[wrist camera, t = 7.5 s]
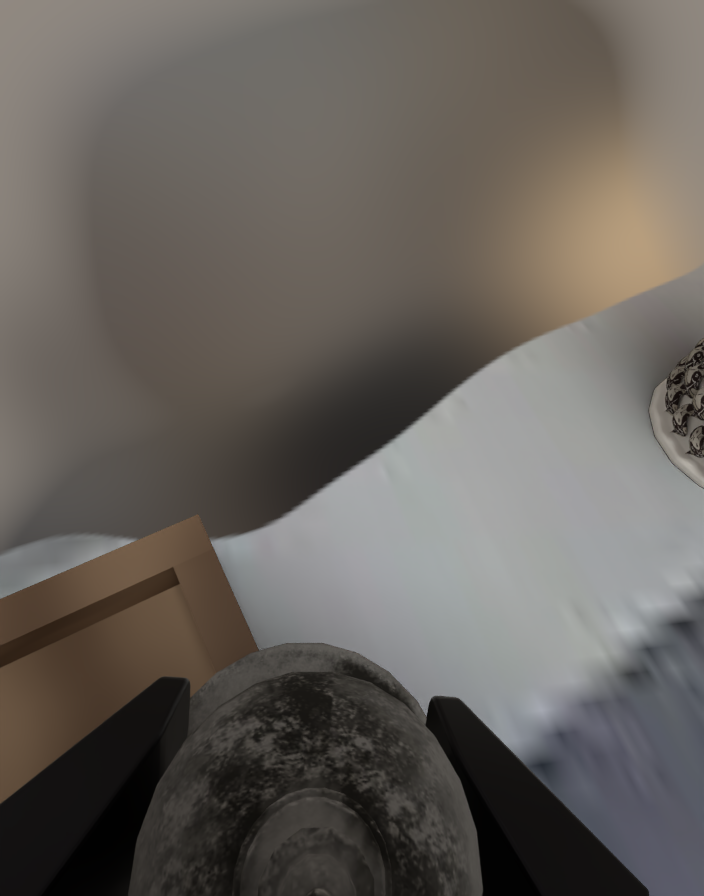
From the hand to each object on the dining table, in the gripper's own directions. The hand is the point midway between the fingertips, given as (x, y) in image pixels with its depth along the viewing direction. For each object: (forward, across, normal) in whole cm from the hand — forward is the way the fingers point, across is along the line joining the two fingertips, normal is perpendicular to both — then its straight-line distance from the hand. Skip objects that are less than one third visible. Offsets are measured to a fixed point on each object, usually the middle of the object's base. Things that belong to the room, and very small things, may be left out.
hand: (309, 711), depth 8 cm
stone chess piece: (+4, 0, +6) cm, 7 cm away
